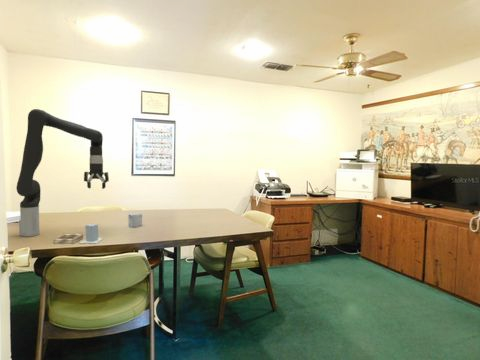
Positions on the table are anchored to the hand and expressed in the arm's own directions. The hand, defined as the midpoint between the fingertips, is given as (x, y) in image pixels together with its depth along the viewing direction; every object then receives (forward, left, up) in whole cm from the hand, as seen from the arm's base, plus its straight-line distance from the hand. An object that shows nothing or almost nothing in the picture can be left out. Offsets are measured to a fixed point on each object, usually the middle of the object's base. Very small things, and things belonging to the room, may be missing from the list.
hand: (96, 188), depth 190 cm
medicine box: (+19, +17, -28) cm, 38 cm away
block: (+5, -19, -28) cm, 34 cm away
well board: (-8, -19, -28) cm, 35 cm away
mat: (+5, -19, -28) cm, 34 cm away
